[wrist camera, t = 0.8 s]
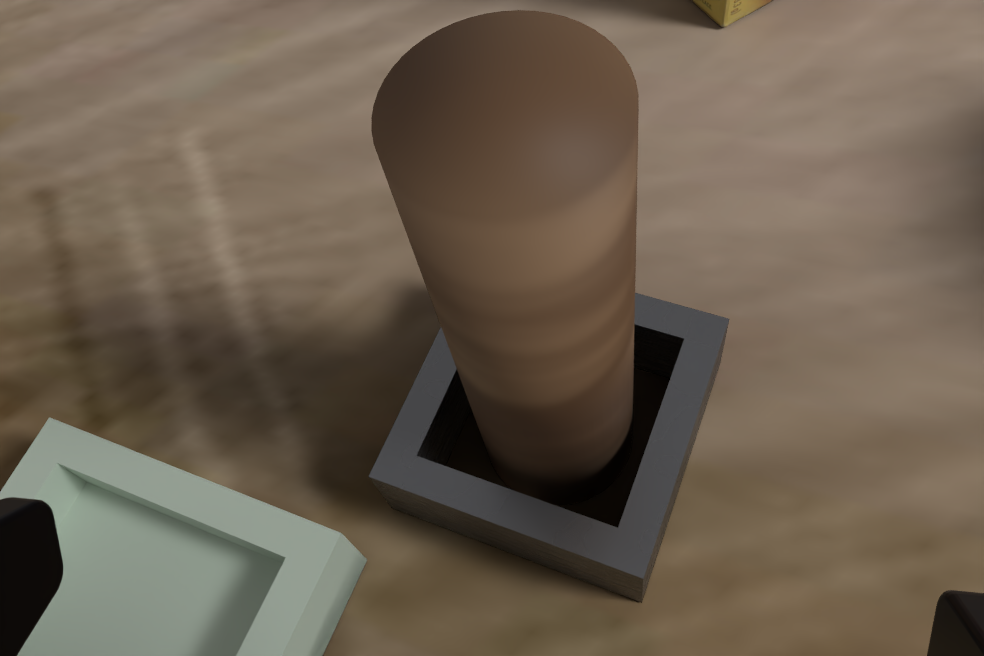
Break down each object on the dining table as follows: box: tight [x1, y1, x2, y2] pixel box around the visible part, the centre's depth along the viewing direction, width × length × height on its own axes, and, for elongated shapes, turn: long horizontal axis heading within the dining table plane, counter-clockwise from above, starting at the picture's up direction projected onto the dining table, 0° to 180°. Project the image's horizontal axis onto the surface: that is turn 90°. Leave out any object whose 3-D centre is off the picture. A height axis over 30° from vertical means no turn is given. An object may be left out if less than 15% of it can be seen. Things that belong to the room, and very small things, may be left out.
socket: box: [369, 293, 729, 603], centre depth 24 cm, size 7×7×2 cm
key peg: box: [372, 10, 638, 505], centre depth 19 cm, size 4×4×13 cm
